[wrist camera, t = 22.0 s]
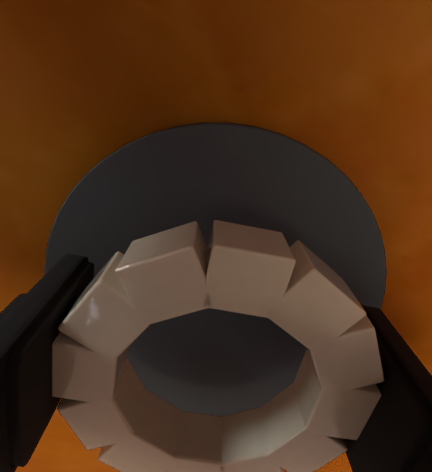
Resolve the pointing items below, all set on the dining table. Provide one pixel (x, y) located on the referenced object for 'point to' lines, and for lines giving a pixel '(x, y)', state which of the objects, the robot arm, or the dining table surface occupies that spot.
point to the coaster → (204, 213)
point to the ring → (227, 299)
